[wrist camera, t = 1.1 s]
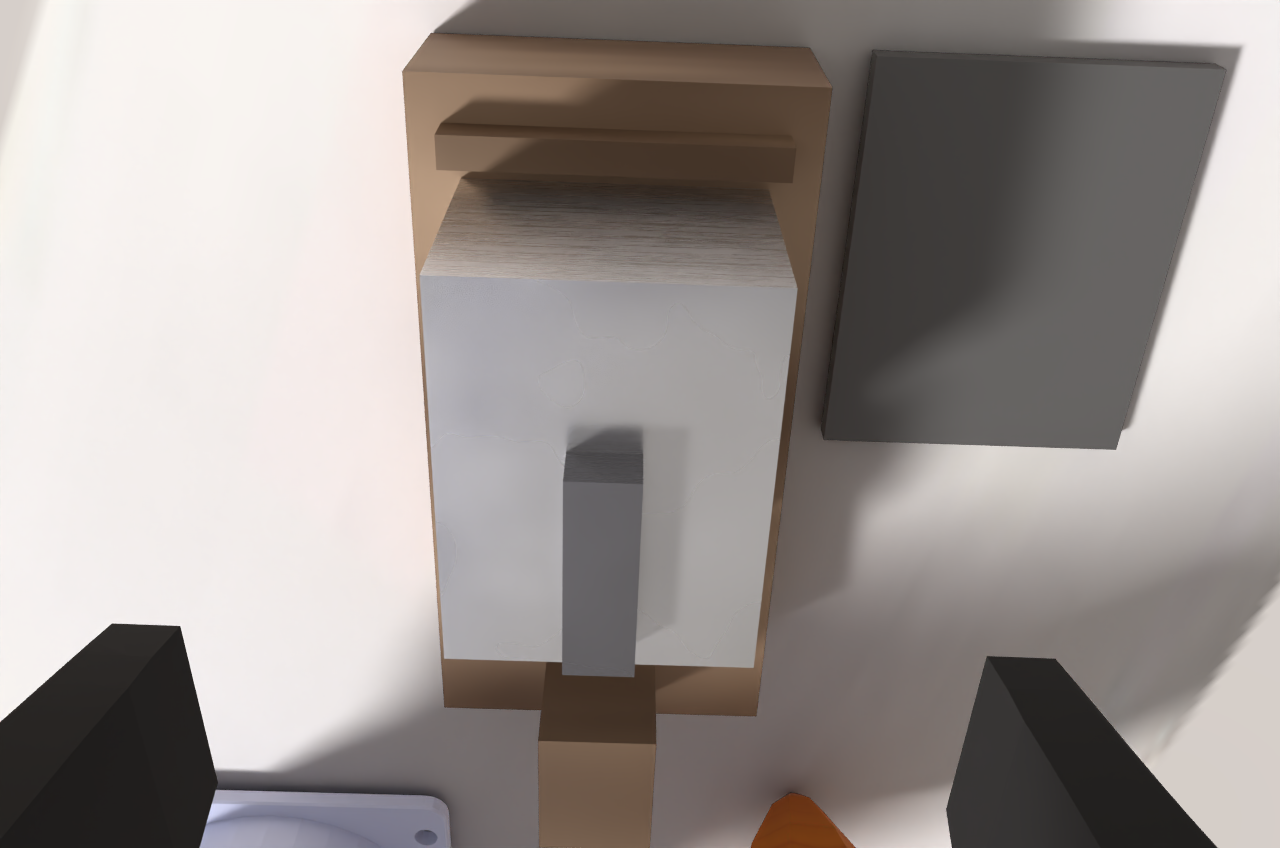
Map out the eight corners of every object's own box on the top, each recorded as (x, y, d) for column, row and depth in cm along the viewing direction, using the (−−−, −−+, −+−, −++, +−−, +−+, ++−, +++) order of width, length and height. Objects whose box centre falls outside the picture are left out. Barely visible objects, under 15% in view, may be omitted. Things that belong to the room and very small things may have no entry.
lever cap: (736, 524, 20) (758, 702, 16) (475, 515, 20) (436, 692, 16) (769, 189, 17) (804, 312, 13) (460, 177, 17) (408, 299, 13)
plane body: (746, 630, 24) (774, 873, 19) (462, 621, 24) (411, 864, 19) (809, 47, 18) (878, 167, 13) (430, 32, 18) (343, 147, 13)
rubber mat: (1108, 438, 22) (1115, 449, 22) (820, 428, 22) (823, 440, 21) (1215, 63, 18) (1226, 69, 18) (872, 50, 18) (876, 56, 18)
